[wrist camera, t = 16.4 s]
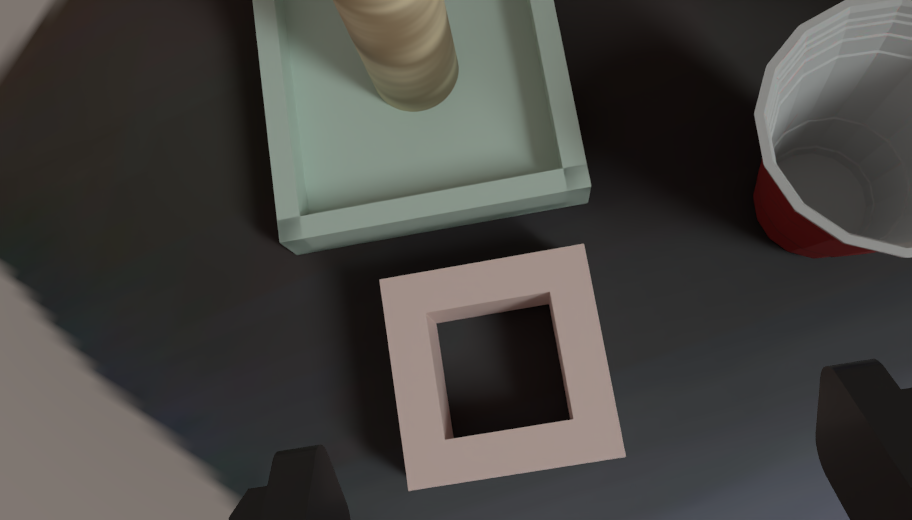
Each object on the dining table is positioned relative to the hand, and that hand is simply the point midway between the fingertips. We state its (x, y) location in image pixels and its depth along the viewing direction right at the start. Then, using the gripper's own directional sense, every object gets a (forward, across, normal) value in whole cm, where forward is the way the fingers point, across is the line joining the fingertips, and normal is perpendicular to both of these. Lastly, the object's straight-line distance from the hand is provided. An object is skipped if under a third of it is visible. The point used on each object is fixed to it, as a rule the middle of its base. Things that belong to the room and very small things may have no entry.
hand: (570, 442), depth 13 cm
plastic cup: (+27, -15, +14) cm, 34 cm away
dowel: (+34, +4, +5) cm, 34 cm away
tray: (+34, +4, +6) cm, 35 cm away
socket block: (+22, +2, +18) cm, 28 cm away
